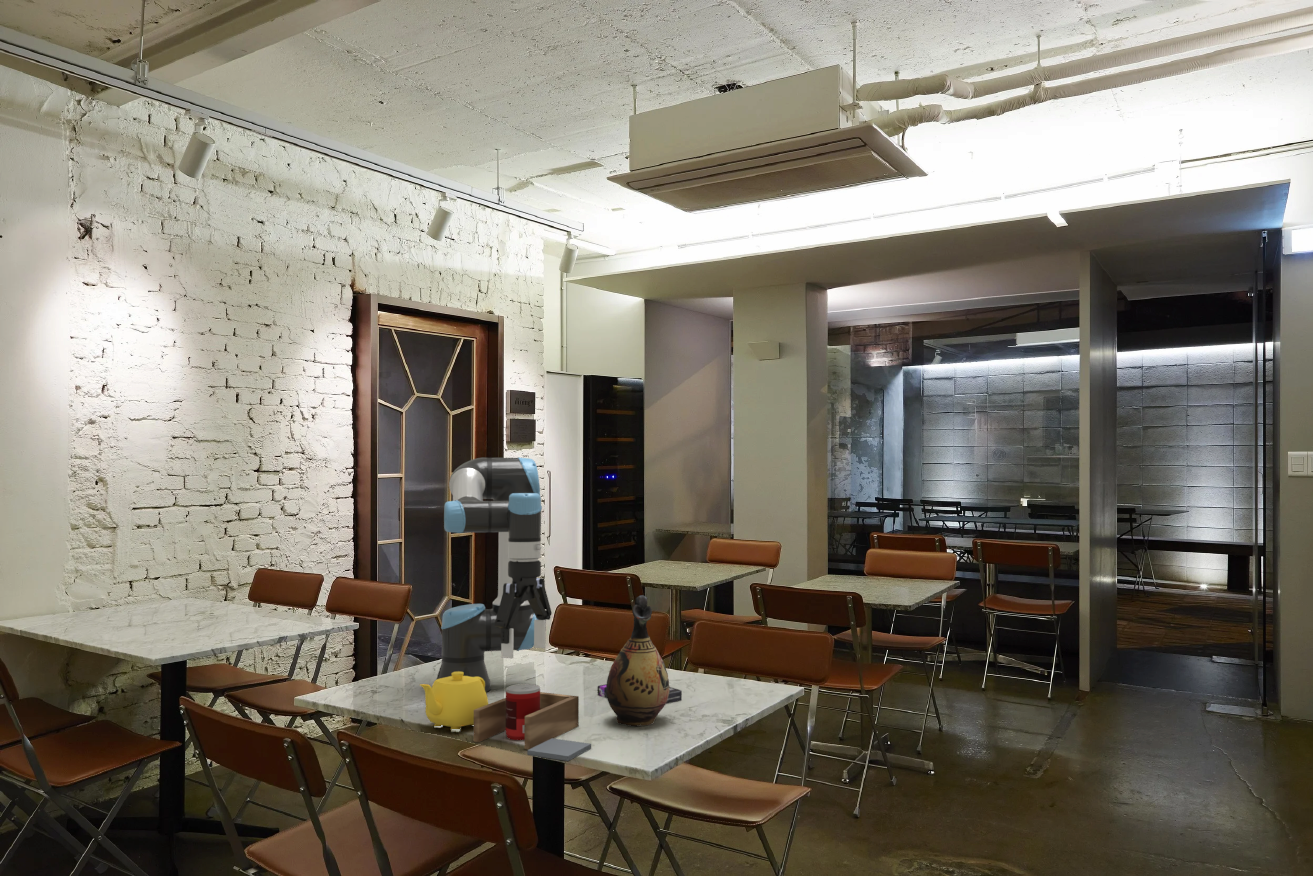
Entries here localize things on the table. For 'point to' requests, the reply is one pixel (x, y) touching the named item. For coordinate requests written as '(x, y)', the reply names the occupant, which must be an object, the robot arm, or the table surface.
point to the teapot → (454, 700)
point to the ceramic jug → (638, 675)
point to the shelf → (530, 719)
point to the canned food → (520, 708)
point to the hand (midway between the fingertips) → (524, 652)
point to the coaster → (559, 749)
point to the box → (672, 697)
